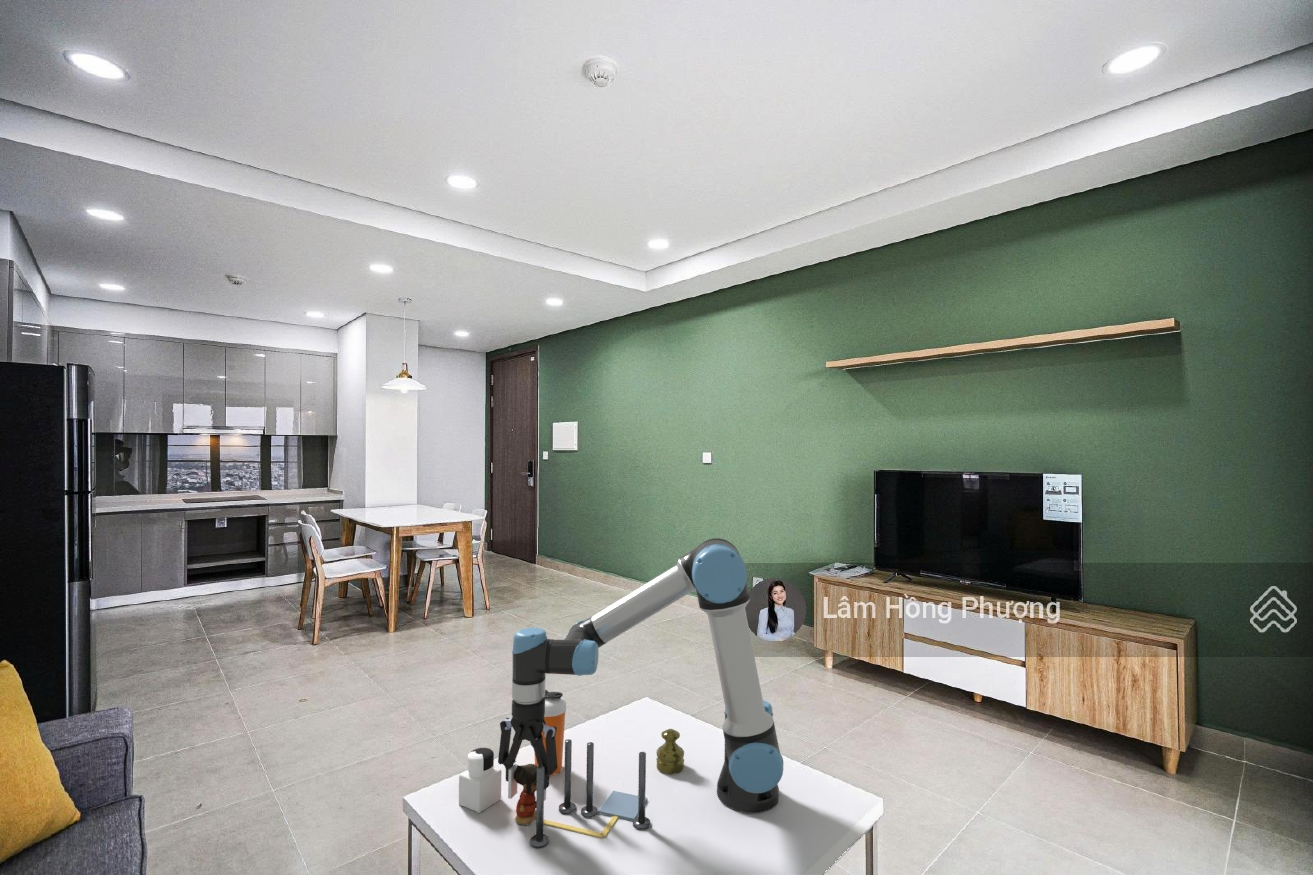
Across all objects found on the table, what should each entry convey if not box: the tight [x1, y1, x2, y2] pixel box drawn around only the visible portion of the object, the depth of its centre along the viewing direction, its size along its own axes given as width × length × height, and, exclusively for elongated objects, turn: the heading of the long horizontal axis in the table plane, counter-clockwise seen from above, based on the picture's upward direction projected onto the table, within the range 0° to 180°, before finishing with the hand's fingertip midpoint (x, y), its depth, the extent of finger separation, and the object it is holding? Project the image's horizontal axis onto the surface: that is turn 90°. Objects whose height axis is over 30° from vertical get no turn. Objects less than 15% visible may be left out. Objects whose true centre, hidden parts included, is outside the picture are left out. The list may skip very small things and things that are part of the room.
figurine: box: [513, 763, 537, 826], centre depth 142 cm, size 6×6×12 cm
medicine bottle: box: [458, 747, 502, 814], centre depth 149 cm, size 7×7×12 cm
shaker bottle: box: [533, 688, 567, 777], centre depth 164 cm, size 9×9×20 cm
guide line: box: [543, 816, 619, 839], centre depth 142 cm, size 16×8×1 cm, turn 71°
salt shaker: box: [656, 728, 685, 775], centre depth 166 cm, size 7×7×10 cm
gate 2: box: [580, 741, 651, 831], centre depth 143 cm, size 17×4×16 cm, turn 71°
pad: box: [598, 790, 648, 822], centre depth 147 cm, size 9×9×1 cm
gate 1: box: [529, 738, 577, 849], centre depth 140 cm, size 4×17×16 cm, turn 161°
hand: (527, 798), depth 142 cm, fingers closed on figurine, 7 cm apart
